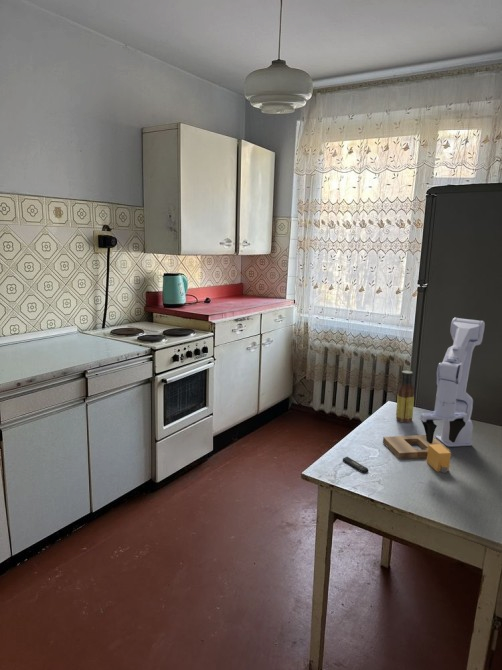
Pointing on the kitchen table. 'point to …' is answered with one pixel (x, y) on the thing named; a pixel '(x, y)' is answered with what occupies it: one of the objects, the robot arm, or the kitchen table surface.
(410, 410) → the sauce bottle
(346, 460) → the usb stick
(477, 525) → the kitchen table surface
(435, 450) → the block
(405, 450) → the pocket board
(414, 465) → the kitchen table surface
